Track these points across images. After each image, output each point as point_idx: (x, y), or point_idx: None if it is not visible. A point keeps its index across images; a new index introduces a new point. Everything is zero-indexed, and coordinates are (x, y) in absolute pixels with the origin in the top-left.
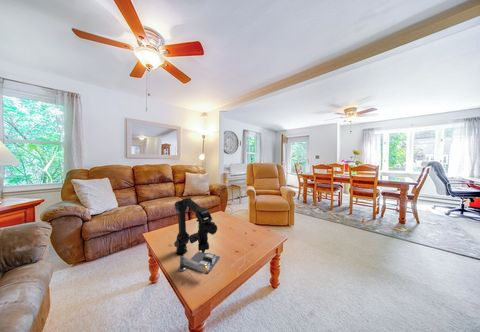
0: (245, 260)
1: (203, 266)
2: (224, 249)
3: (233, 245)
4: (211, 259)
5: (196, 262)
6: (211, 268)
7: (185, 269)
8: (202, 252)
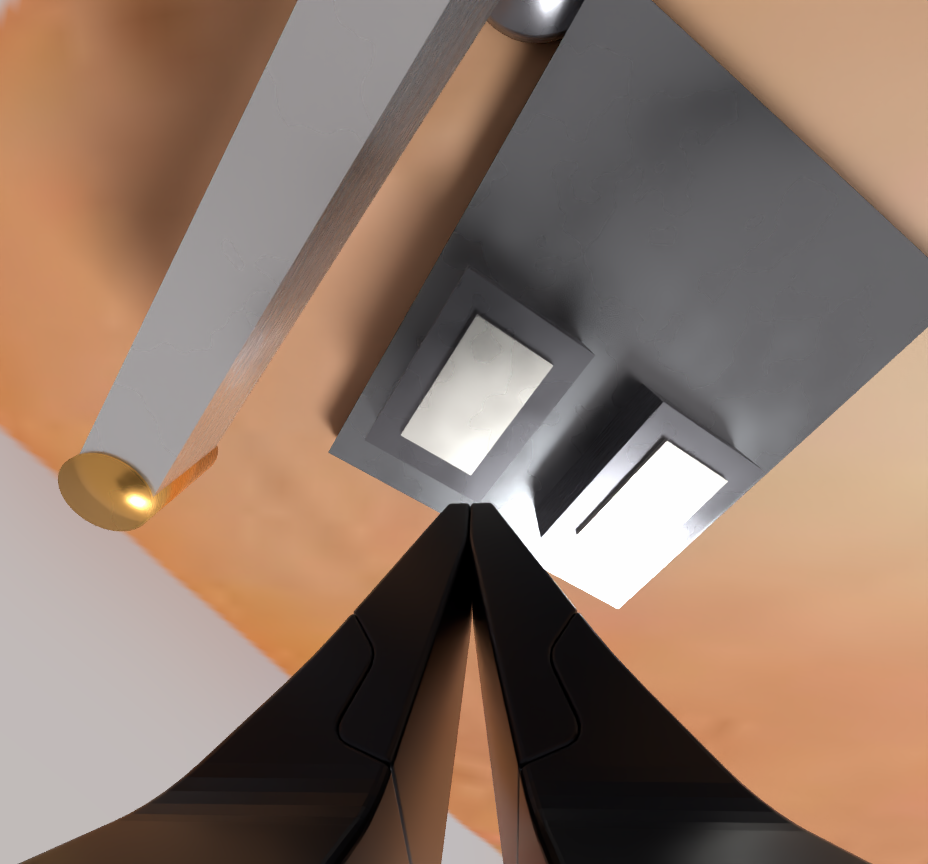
0: (484, 773)
1: (100, 463)
2: (771, 655)
3: (795, 742)
4: (545, 525)
5: (245, 297)
6: (405, 491)
7: (497, 27)
8: (439, 524)
